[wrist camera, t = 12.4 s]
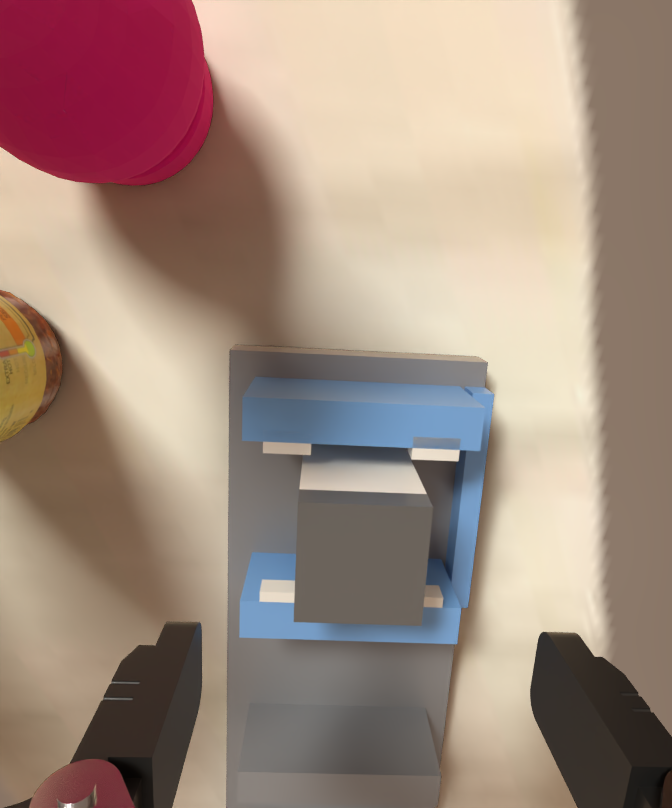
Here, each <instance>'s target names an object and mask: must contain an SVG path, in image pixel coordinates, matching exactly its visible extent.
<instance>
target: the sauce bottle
mask: <svg viewBox="0 0 672 808" xmlns="http://www.w3.org/2000/svg"><path fill="white" fill-rule="evenodd" d="M61 376H62V356H61V352H60V346H59V343H58V341H57V339H56V338H55V334H54V333H53V332H52V330H51V328H50V326H49V324H48V323H47V322H46V321H45V319H44V318H43V317H42V316H41V315H40V314H38V313H37V312H36V311H35V310H34V309H33V308H32V307H30V306H29V305H28V304H27V303H25V302H24V301H23V300H21V299H19V298H17V297H15V296H14V295H13V294H11V293H9V292H6V291H2V290H0V442H2V441H4V440H6V439H8V438H10V437H12V436H14V435H15V434H17V433H18V432H19V431H20V430H21V429H22V428H23V427H24V426H25V425H27V424H29V423H32V422H34V421H36V420H37V419H38V418H39V417H40V416H41V415H42V414H44V413H45V412H46V411H47V409H48V407H49V405H50V404H51V403H52V401H53V400H54V398H55V395H56V393H57V391H58V390H59V386H60V385H61Z"/></svg>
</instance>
